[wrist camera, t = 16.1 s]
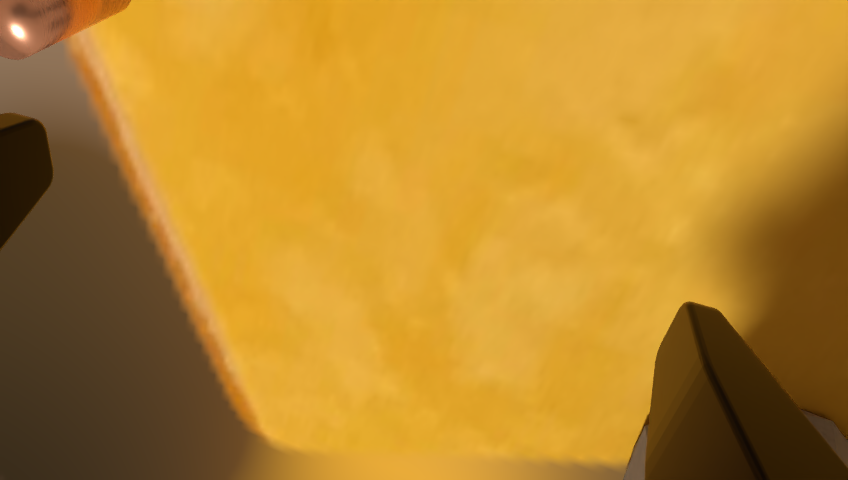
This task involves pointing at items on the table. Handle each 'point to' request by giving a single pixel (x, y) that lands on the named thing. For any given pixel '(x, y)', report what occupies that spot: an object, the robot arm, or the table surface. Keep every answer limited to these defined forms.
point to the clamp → (48, 22)
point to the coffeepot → (825, 427)
